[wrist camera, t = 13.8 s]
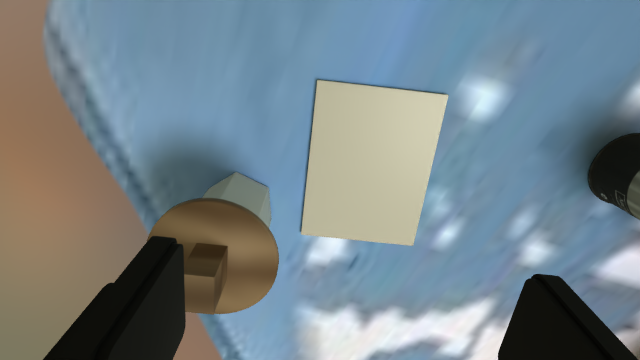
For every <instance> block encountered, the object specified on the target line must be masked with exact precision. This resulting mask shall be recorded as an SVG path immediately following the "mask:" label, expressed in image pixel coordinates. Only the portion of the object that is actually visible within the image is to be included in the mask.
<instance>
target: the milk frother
mask: <svg viewBox="0 0 640 360" xmlns="http://www.w3.org/2000/svg"><path fill="white" fill-rule="evenodd" d="M589 184H590V188H591V190H592V191H593V193H594V194H595V195H596V196H597V197H598V198H599V199H601V200H603V201H605V202H607V203H611V204H613V205H615V206H617V207H619V208H621V209H622V210H624V211H626V212H627V213H629V214H630V215H632V216H634V217H636V218H637V219H639V220H640V133H639V134H630V135H626V136H622V137H620V138H618V139H616V140H614V141H612V142H611V143H609V144H608V145H607V146H605V147H604V148H603V149H602V150H601V151H600V152H599V153H598V155H597V156H596V157H595V159H594V161H593V163H592V165H591V167H590V171H589Z"/></svg>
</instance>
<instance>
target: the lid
mask: <svg viewBox="0 0 640 360" xmlns="http://www.w3.org/2000/svg"><path fill="white" fill-rule="evenodd" d="M152 236H162V237H172V238H175V239H176V240H177V244H182V245H183V249H184V285H185V312H193V313H203V314H226V313H233V312H237V311H241V310H244V309H246V308H249V307H251V306H252V305H254V304H256V303H257V302H259V301H260V300H261V299H262V298H263V297H264V296H265V295H266V294H267V293H268V292H269V290H270V289H271V287H272V285H273V283H274V281H275V278H276V275H277V270H278V264H279V253H278V247H277V244H276V241H275V239H274V236H273V234H272V233H271V231H270V229H269V228H268V227H267V225H266V224H265V223H264V222H263V221H262V220H261V219H260V218H259V217H258V216H257V215H256V214H254V213H253V212H251V211H250V210H249V209H247V208H245V207H243V206H241V205H239V204H236V203H234V202H231V201H227V200H224V199H218V198H197V199H192V200H188V201H185V202H182V203H180V204H178V205H176V206H174V207H172V208H171V209H170V210H168V211H167V212H166V213H165V214H164V215H163V216H162V217H161V218H160V219H159V220H158V221H157V223H156V224H155V225H154V227H153V228H152V230H151V232H150V234H149V237H148V240H149V239H150V238H151V237H152ZM148 240H147V241H148Z"/></svg>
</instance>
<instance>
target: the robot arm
mask: <svg viewBox="0 0 640 360" xmlns="http://www.w3.org/2000/svg"><path fill="white" fill-rule="evenodd" d="M184 330H185V285H184V249H183V245H182V244H177V240H176V239H175V238H172V237H162V236H152V237H151V238H150V239H149V240H148V241H147V243H146V244H145V245H144V246H143V248H142V249H141V250H140V251H139V253H138V254H137V255H136V257H135V258H134V259H133V260H132V261H131V262H130V264H129V265H128V266H127V267H126V269H125V270H124V271H123V272H122V274H121V275H120V276H119V277H118V279H117V280H116V281H115V282H114V283H109V284H107V285H106V286H105V287H103V288H102V290H101V291H100V292H99V293H98V294H97V296H96V297H95V298H94V299H93V300H92V302H91V303H90V304H89V305H88V306H87V307H86V309H85V310H84V311H83V312H82V314H81V315H80V316H79V317H78V318H77V319H76V321H75V322H74V323H73V324H72V325H71V327H70V328H69V329H68V330H67V331H66V333H65V334H64V335H63V336H62V337H61V339H60V340H59V341H58V342H57V344H56V345H55V346H54V347H53V348H52V349H51V351H50V352H49V353H48V354H47V355H46V357H45V358H44V359H43V360H173V357H174V355H175V353H176V351H177V348H178V346H179V344H180V342H181V339H182V337H183V334H184ZM498 360H638V359H637V358H636V357H635V356H634V355H633V354H632V353H631V352H630V351H629V350H628V348H627V347H626V346H625V345H624V344H623V343H622V342H621V341H620V340H619V339H618V338H617V337H616V336H615V335H614V334H613V333H612V331H611V330H610V329H609V328H608V327H607V326H606V325H605V324H604V323H603V322H602V321H601V320H600V319H599V318H598V317H597V315H596V314H595V313H594V312H593V311H592V310H591V309H590V308H589V307H588V306H587V305H586V304H585V303H584V302H583V301H582V300H581V298H580V297H579V296H578V295H577V294H576V293H575V292H574V291H573V290H572V289H571V288H570V287H569V286H568V285H567V284H566V282H565V281H564V280H563V279H562V278H560V277H559V276H553V275H543V274H535V275H533V276H532V277H531V279H527V280H526V281H525V283H524V286H523V289H522V291H521V294H520V297H519V299H518V302H517V304H516V307H515V310H514V312H513V315H512V318H511V320H510V323H509V326H508V328H507V331H506V333H505V336H504V339H503V341H502V344H501V347H500V349H499V353H498Z"/></svg>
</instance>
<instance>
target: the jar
mask: <svg viewBox="0 0 640 360" xmlns="http://www.w3.org/2000/svg"><path fill="white" fill-rule="evenodd" d="M202 198H218V199H224V200H227V201H231V202H234V203H236V204H239V205H241V206H243V207H245V208H247V209H249V210H250V211H251V212H253V213H254V214H256V215H257V216H258V217H259V218H260V219H261V220H262V221H263V222H264V223H265V224H266V225H267V227H268V228H269V227H270V223H271V219H272V218H271V207H270V195H269V188H268V187H266V186H264V185H262V184H260V183H258V182H256V181H254V180H252V179H250V178H248V177H246V176H244V175H242V174H240V173H238V172H235V173H234V174H232V175H230V176H229V177H227V178H225V179H224V180H222V181H220V182H219V183H217V184H215V185H214V186H212V187H210V188H209V189H208V190H207V191H206V193H205V194H204V195H203V197H202Z"/></svg>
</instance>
